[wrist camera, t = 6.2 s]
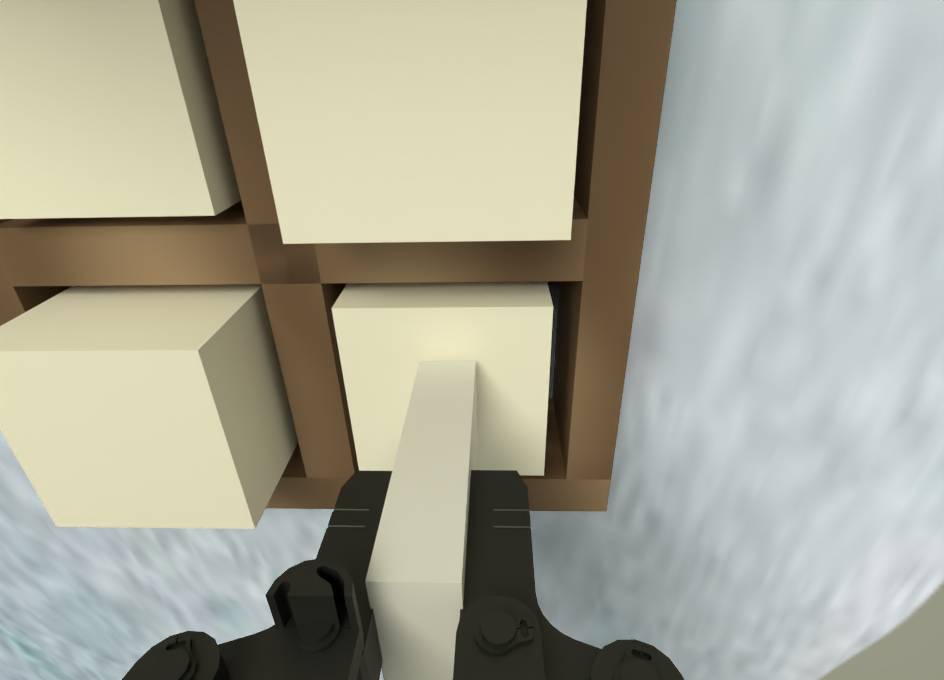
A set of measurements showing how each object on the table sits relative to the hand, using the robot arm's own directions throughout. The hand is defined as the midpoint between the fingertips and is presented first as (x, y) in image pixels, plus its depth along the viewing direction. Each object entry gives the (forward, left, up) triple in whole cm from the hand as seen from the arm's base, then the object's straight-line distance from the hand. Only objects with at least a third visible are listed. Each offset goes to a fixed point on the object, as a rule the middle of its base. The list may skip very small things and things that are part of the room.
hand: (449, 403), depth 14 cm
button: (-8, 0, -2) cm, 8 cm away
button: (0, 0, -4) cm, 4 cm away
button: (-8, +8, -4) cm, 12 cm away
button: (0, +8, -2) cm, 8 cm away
